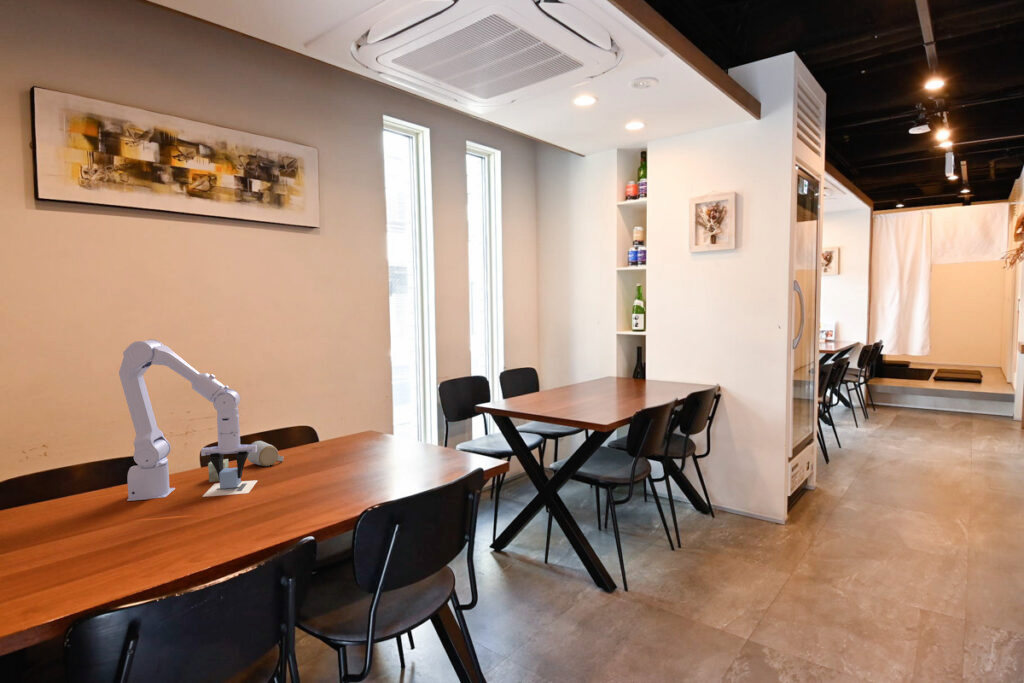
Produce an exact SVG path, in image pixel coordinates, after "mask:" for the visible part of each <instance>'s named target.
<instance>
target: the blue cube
mask: <svg viewBox="0 0 1024 683" xmlns="http://www.w3.org/2000/svg"><path fill="white" fill-rule="evenodd" d="M237 470H238V468H237V467H229V468H224V469H223V470H222V471H221V472H220V473H219V478H220V481H219V483H220V488H231V487H237V486H238V485H239V484H240V483H241V481H242V479H241V478H242V477H241V478H238V473H237Z"/></svg>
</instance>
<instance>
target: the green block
mask: <svg viewBox="0 0 1024 683" xmlns="http://www.w3.org/2000/svg"><path fill="white" fill-rule="evenodd" d="M207 465H208V466H207V467H208V482H209V483H213V482H220V480H219V477H218V474H217V471H216V469H215V467H214V465H213V464H212V462H211V461H210V462H208V463H207ZM224 468H230V467H229V458H225V459H224V458H223V469H224Z"/></svg>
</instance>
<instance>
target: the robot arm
mask: <svg viewBox="0 0 1024 683" xmlns="http://www.w3.org/2000/svg"><path fill="white" fill-rule="evenodd" d="M122 355H123V358H122V360H121V365H120V366H119V367H120V368H119V369H118V370H119V371H118V375H119V379H120V382H121V386H122V390H123V393H124V397H125V401H126V404H127V408H128V411H129V414H130V417H131V421H132V424H133V428H134V431H135V438H134V440H133V441H134V442H133V447H134V451H133V460H134V462H135V463H136V464H137V465H133V466H130V467H129V469H128V471H127V480H126V481H127V495H128V498H127V499H126V500H127V502H130V501H143V500H144V501H145V500H149V499H161V498H162V499H163V498H167V497H168V496H169V495H170V494H171V493H172V492H173V491H174V490H176V487H170V473H169V471H170V470H169V459H168V456H169V454H170V453H171V449H172V448H171V444H170V442H169V440H167V439H166V437H165V435H164V433H163V431H162V430H160V428H158V424H157V419H156V417H155V413H154V408H153V406H152V402H151V399H150V395H149V392H148V387H147V384H146V381H145V377H144V375H145V374H146V372H147V371H148V369H150V367H151V366H152V365H154V366H165V367H167V368H169V369H170V370H172V371H173V372H176V374H178V375H180V376H181V377H183V378H184V379H186V380H187V381H189V382H190V383H191V388H192V390H194V391H195V392H196V393H197V394H199V395H200V396H202V397H203V398H205V399H206V400H207V401H209V402H210V403H212V406H213V408H214V409H215V410H216V416H217V417H216V423H217V424H216V425H217V426H216V427H217V446H210V447H202V448H201V449H200V455H201V457H204V456H205V457H206V456H210V457H209V461H210V462H212V464H213V465H214V467H215V469H216V471H217V474H218V477H219V473H220V472H221V471H222V470H223V459H224V455H228V454H236V455H235V460H236V468H238V470H237V473H238V478H242V477H243V472H244V466H245V463H246V461H247V460H248V458H247V456H248V454H249V452H252V453H256V452H257V445H251V444H241V432H240V430H241V429H240V414H239V413H240V412H239V407H238V406H239V405H240V403H241V395H240V394H239V392H237V390H235V389H234V388H230V386H229V385H224V384H223V383H221V382H220V381H219V380H218V379H216V376H217V375H215V374H212V373H211V374H209V373H208V372H205V373H204V372H203V373H202V372H200V371H198V370H197V369H195V368H194V366H192V365H190V364H189V363H188V362H186V361H185V360H184V358H182V357H181V356H180V355H178V354H177V353H176V352H174V351H173V349H171V348H170V347H169V346H168V345H165V344H163V343H162V342H160V340H157V339H146V340H138V341H134V342H132V343H130V344H129V345H128V346H127V347H126V348H125V350H124V351H123V353H122ZM219 480H220V478H219Z"/></svg>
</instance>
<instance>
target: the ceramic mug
mask: <svg viewBox="0 0 1024 683" xmlns="http://www.w3.org/2000/svg"><path fill="white" fill-rule="evenodd" d="M250 445H257V452H256V453H252V452H249V454H248V456H247V460H248V461H249V462H250V463H252V464H255V465H258V466H260V467H271V466H272V465H274V464H275V463H276V462H278V461H279V462H283V461H284V458H285V457H284V456H283V455H279V451H278V449H277V448H276V446H274V445H272V444H269V443H267V442H265V441H263V440H256V441H254V442H252V443H251V444H250ZM270 465H271V466H270Z"/></svg>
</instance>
